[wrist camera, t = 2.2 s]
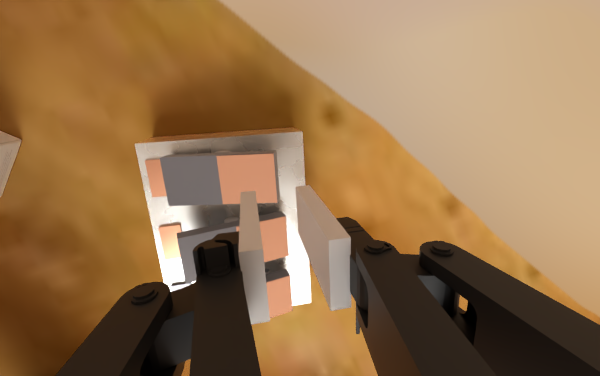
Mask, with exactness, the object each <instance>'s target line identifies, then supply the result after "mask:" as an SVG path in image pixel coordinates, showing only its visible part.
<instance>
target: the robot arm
mask: <svg viewBox="0 0 600 376" xmlns="http://www.w3.org/2000/svg"><path fill="white" fill-rule="evenodd" d="M296 203H297V219H298V234H299V236H300V238H301V241H302V243H303V246H304V248H305V250H306V253H307V255H308V258H309V260H310V262H311V265H312V267H313V270H314V272H315V274H316V277H317V279H318V282H319V284H320V286H321V289H322V291H323V294H324V296H325V298H326V301H327V303H328V306H329V308H330V311H332V310H338V309H344V308H350V307H351V294H352V296H353V297H354V299H355V301H356V334H360V327H361V330H362V332H363V335H364V338H365V341H366V343H367V346H368V349H369V352H370V354H371V357H372V360H373V363H374V365H375V368H376V371H377V374H378V376H600V325H599V324H597V323H595V322H593V321H591V320H590V319H588V318H586V317H584V316H582V315H581V314H579V313H577V312H575V311H573V310H572V309H570V308H568V307H566V306H564V305H562V304H561V303H559V302H557V301H555V300H553V299H552V298H550V297H548V296H546V295H544V294H543V293H541V292H539V291H537V290H535V289H534V288H532V287H530V286H528V285H526V284H524V283H523V282H521V281H519V280H517V279H515V278H514V277H512V276H510V275H508V274H506V273H505V272H503V271H501V270H499V269H497V268H496V267H494V266H492V265H490V264H488V263H486V262H485V261H483V260H481V259H479V258H477V257H476V256H474V255H472V254H470V253H468V252H467V251H465V250H463V249H461V248H459V247H457V246H455V245H453V244H450V243H446V242H444V241H439V242H438V241H432V242H426V243H424V244H422V245H421V246H420V253H419V255H411V254H400V253H399V252H398V251H397V250H396V248H395V247H394V246H392V245H391V244H389V243H387V242H384V241H379V240H374V239H373V238H372V237H371V236H370V235H369V234H368V233H367V232H366V231H365V230H364V229H363V228H362V227H361V226H360V225H359V223H358V222H357V221H355V220H353V219H351V218H349V217H344V218H335V217H334V216H333V214H332V213H331V212H330V210H329V209H328V208H327V207H326V205H325V204H324V203H323V202H322V200H321V199H320V198H319V197H318V195H317V194H316V193H315V192H314V190H313V189H312V188H311V186H310V185H305V186H296ZM192 252H193V258H194V264H195V269H196V275H197V277H196V282H194V283H192V284H191V285H189V286H186V287H184V288H181V289H178V290H175V291H172V292H170V288H169V286H168V285H167V284H165V283H163V282H151V283H144V284H142V285H138V286H136V287H135V288H133V289H131V290H129V291H128V292H126V293H125V294H124V295H123V296H122V297H121V298H120V299H119V300H118V301H117V302H116V304H115V305H114V306H113V307H112V308H111V310H110V311H109V312H108V313H107V314H106V316H105V317H104V318H103V319H102V320H101V322H100V323H99V324H98V325H97V326H96V328H95V329H94V330H93V331H92V332H91V334H90V335H89V336H88V337H87V338H86V340H85V341H84V342H83V343H82V344H81V346H80V347H79V348H78V349H77V350H76V352H75V353H74V354H73V355H72V356H71V358H70V359H69V360H68V361H67V362H66V364H65V365H64V366H63V367H62V368H61V370H60V371H59V372H58V373H57V374H56V376H181V374H182V372H183V369H184V364H185V361H186V360H188V359H191V363H190V376H261V372H260V367H259V362H258V357H257V352H256V347H255V341H254V336H253V331H252V326H251V324H257V323H262V322H268V321H270V316H269V305H268V295H267V285H266V275H265V265H264V255H263V246H262V238H261V230H260V223H259V215H258V207H257V199H256V192H255V191H247V192H241V197H240V224H239V231H236V232H228V233H220V234H217V235H216V236H215V237H214V238H213V239H211V240H207V241H204V242H202V243H200V244H198V245H197V246H196V247H194V249H193V251H192ZM460 295H461V296H462V297H464V298H465V299H467V300H468V306H467V311H464V310H462V309H461V308H460V307H458V306H459V297H460Z"/></svg>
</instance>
